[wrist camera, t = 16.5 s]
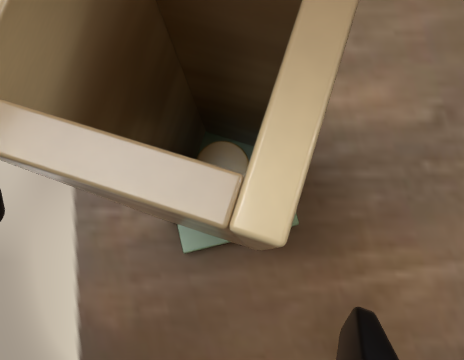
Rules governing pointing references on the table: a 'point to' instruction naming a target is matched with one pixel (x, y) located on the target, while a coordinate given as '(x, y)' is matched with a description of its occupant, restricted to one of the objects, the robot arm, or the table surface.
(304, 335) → the table surface
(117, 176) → the square pencil holder
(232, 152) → the coat peg
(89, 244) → the table surface
